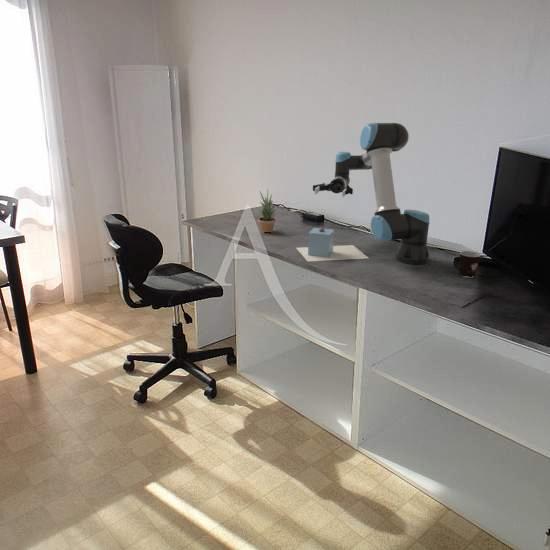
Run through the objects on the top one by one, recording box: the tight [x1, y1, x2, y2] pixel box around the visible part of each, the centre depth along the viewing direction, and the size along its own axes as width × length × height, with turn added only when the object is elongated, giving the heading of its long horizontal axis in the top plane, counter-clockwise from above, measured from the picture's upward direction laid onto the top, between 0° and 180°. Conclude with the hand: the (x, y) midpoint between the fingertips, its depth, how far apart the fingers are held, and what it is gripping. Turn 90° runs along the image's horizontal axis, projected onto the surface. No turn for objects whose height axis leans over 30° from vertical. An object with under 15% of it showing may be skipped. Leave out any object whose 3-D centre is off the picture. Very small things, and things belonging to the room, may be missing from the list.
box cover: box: [307, 227, 335, 257], centre depth 250 cm, size 10×10×12 cm
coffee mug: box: [453, 250, 482, 277], centre depth 224 cm, size 12×9×10 cm
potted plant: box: [257, 188, 276, 233], centre depth 285 cm, size 10×10×25 cm
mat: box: [295, 244, 369, 262], centre depth 253 cm, size 22×30×1 cm
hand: (329, 192), depth 252 cm, fingers open, 13 cm apart
